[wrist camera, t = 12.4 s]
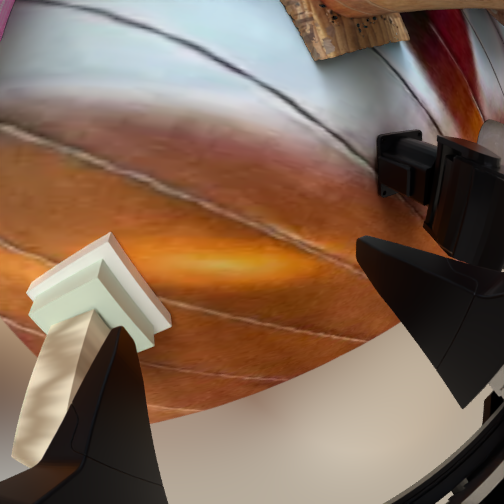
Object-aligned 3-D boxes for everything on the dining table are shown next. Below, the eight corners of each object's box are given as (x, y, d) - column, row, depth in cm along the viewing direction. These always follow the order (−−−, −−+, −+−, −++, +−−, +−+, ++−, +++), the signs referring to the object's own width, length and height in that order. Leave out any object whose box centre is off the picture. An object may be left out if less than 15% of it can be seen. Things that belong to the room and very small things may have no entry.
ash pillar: (93, 309, 17) (59, 464, 7) (128, 352, 20) (123, 492, 10) (50, 325, 17) (11, 456, 7) (85, 364, 20) (69, 487, 9)
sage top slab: (102, 258, 19) (97, 277, 17) (153, 325, 23) (154, 346, 21) (36, 295, 18) (28, 314, 16) (89, 351, 23) (86, 371, 21)
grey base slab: (112, 226, 20) (107, 241, 18) (169, 308, 26) (171, 326, 24) (34, 276, 20) (26, 293, 18) (94, 342, 25) (92, 360, 23)
